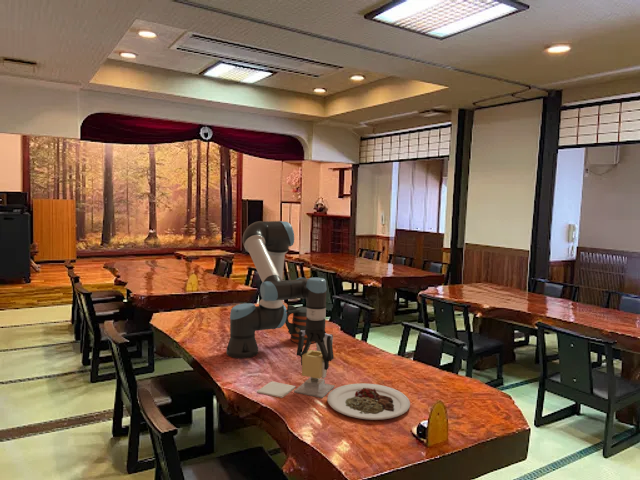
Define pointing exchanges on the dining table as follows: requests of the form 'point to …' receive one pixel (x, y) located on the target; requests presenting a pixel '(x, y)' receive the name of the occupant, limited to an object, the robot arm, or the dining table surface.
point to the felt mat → (276, 389)
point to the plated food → (368, 401)
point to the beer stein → (296, 322)
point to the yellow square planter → (312, 364)
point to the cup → (324, 343)
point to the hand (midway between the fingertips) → (314, 375)
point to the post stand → (314, 387)
